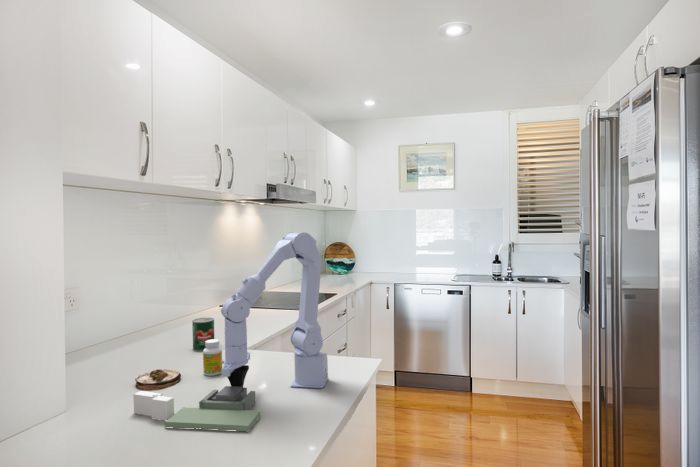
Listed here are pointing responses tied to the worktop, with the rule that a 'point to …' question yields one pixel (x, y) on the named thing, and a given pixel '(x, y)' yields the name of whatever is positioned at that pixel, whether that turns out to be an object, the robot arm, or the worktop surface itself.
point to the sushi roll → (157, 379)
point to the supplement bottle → (212, 358)
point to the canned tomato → (202, 332)
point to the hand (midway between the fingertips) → (237, 394)
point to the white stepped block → (153, 405)
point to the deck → (217, 414)
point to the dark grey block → (231, 394)
